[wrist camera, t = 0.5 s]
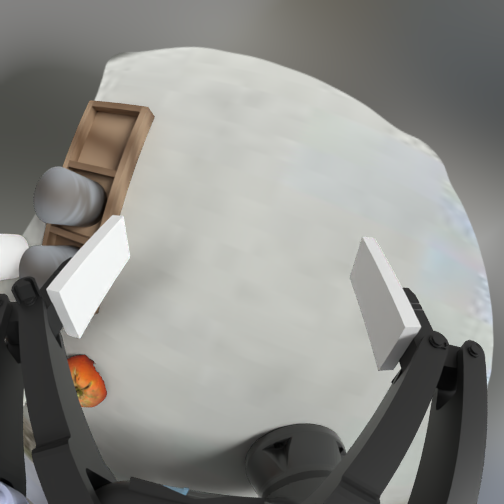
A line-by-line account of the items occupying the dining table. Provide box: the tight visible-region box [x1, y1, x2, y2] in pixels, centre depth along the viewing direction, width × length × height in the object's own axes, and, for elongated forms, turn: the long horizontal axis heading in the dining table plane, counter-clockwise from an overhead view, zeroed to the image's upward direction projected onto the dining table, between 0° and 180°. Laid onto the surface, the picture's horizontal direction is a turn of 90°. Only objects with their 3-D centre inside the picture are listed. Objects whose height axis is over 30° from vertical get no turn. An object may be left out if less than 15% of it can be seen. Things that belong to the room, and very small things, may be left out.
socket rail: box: [19, 101, 154, 315], centre depth 28 cm, size 27×9×9 cm, turn 164°
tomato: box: [67, 355, 107, 407], centre depth 32 cm, size 8×7×7 cm
